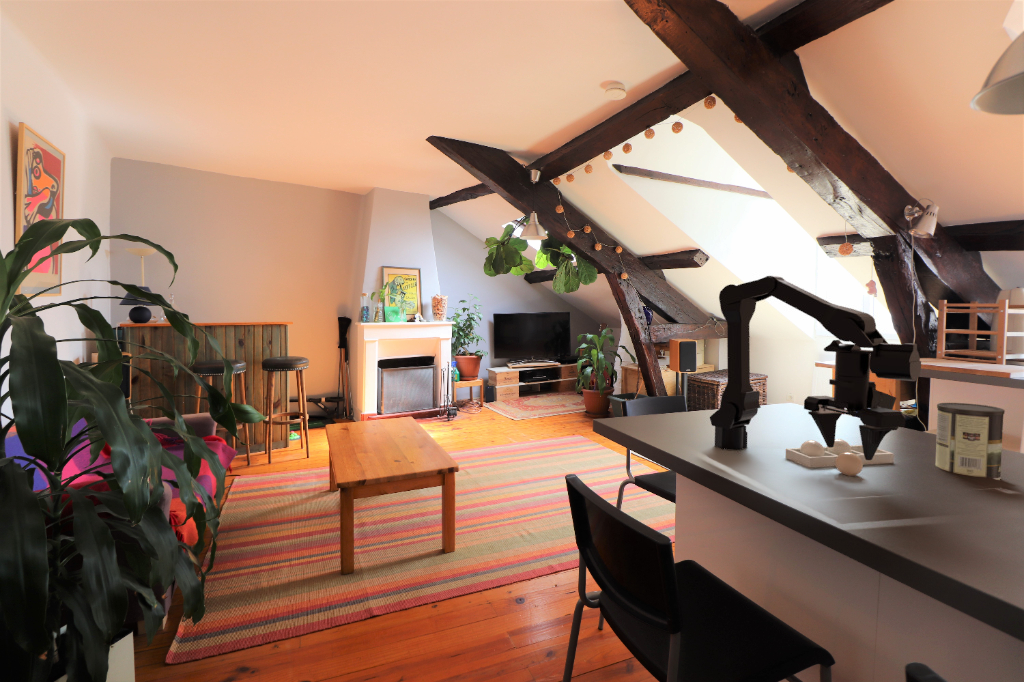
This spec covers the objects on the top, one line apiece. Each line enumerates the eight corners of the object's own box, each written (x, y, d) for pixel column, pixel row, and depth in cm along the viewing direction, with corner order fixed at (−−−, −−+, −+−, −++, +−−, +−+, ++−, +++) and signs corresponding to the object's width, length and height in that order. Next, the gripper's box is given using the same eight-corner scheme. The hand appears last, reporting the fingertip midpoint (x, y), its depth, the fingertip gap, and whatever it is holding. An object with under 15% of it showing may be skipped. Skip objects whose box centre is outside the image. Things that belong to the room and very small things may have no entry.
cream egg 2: (837, 463, 108) (838, 442, 108) (821, 457, 113) (821, 437, 112) (856, 462, 109) (857, 441, 109) (839, 456, 113) (840, 436, 113)
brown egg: (847, 479, 98) (848, 456, 98) (829, 472, 103) (830, 450, 103) (868, 478, 99) (869, 455, 99) (848, 471, 104) (849, 449, 103)
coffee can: (977, 468, 109) (981, 403, 108) (1014, 484, 98) (1018, 412, 98) (922, 465, 111) (926, 401, 110) (953, 480, 101) (957, 410, 100)
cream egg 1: (810, 465, 107) (811, 443, 107) (794, 458, 112) (795, 438, 111) (829, 464, 108) (830, 442, 108) (813, 457, 112) (814, 437, 112)
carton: (809, 471, 106) (809, 457, 105) (785, 461, 113) (785, 448, 113) (893, 467, 109) (893, 453, 109) (864, 457, 116) (865, 444, 116)
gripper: (933, 381, 92) (928, 465, 93) (848, 369, 110) (845, 440, 111) (880, 382, 90) (876, 468, 91) (803, 370, 109) (800, 442, 109)
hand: (848, 453), depth 101 cm, fingers open, 9 cm apart
